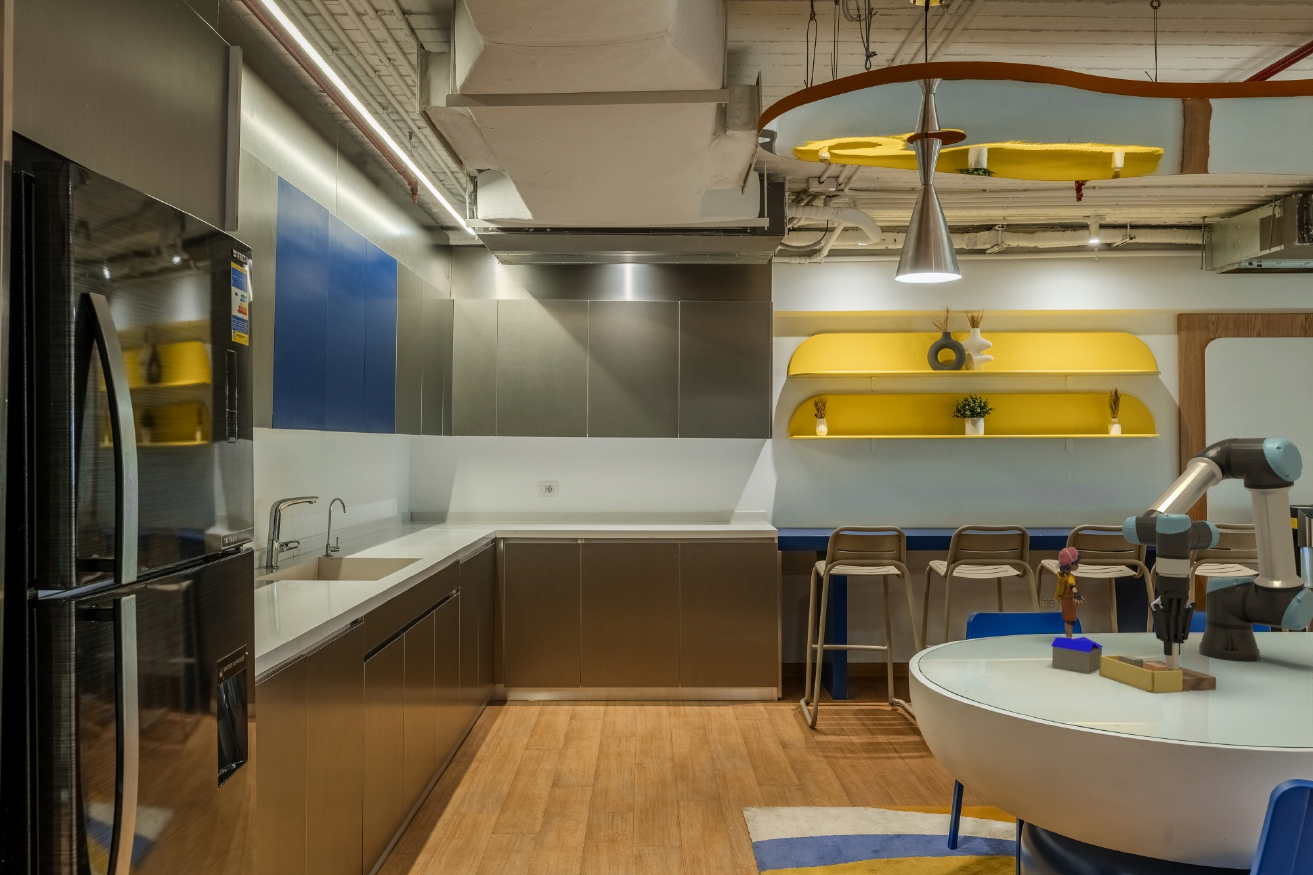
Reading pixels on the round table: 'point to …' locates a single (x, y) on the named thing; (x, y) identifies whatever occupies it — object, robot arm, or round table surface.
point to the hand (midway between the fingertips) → (1171, 668)
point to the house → (1076, 654)
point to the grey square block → (1131, 660)
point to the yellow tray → (1140, 675)
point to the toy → (1068, 587)
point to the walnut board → (1194, 679)
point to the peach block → (1154, 667)
